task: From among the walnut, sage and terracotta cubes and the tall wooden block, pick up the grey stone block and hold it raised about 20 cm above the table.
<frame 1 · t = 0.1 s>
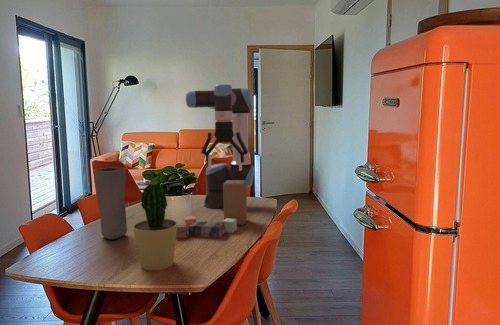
hand: (225, 170, 181), 28 cm above the table, fingers open, 13 cm apart
sage cube: (229, 230, 187), on the table
stone block: (207, 234, 183), on the table
vase: (113, 237, 181), on the table
wooden block: (235, 222, 200), on the table
terracotta cube: (189, 228, 192), on the table
walnut cube: (181, 236, 181), on the table
potted cactus: (157, 264, 149), on the table
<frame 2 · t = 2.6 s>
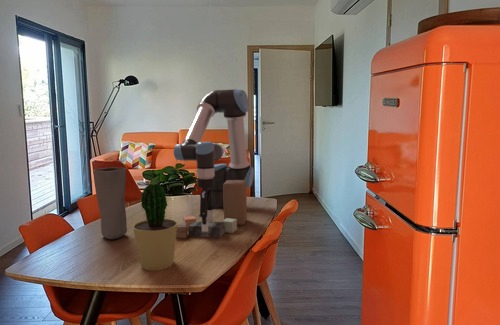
hand: (207, 227, 183), 3 cm above the table, fingers open, 9 cm apart
nothing on the table moved.
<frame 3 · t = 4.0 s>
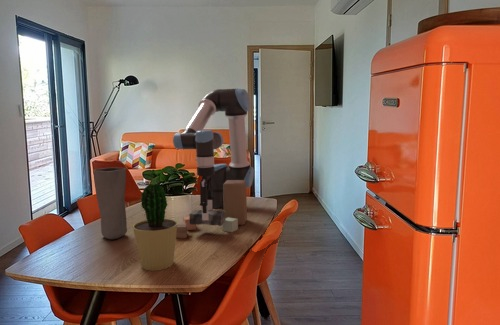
hand: (207, 216, 183), 7 cm above the table, fingers closed on stone block, 8 cm apart
stone block: (208, 223, 184), point 5 cm above the table, touching gripper
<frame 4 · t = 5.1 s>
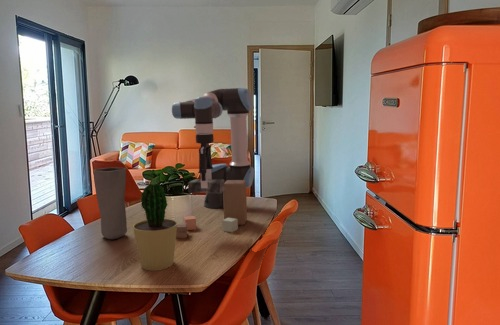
hand: (206, 185, 181), 21 cm above the table, fingers closed on stone block, 8 cm apart
stone block: (207, 192, 182), point 19 cm above the table, touching gripper
everything else where it was.
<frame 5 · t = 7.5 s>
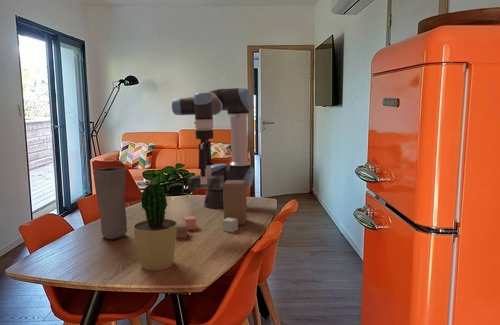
hand: (206, 181, 180), 23 cm above the table, fingers closed on stone block, 8 cm apart
stone block: (206, 188, 181), point 20 cm above the table, touching gripper
everything else where it was.
at the end: the gripper is holding stone block; stone block point 20.3 cm above the table; walnut cube moved 0.1 cm from its start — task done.
